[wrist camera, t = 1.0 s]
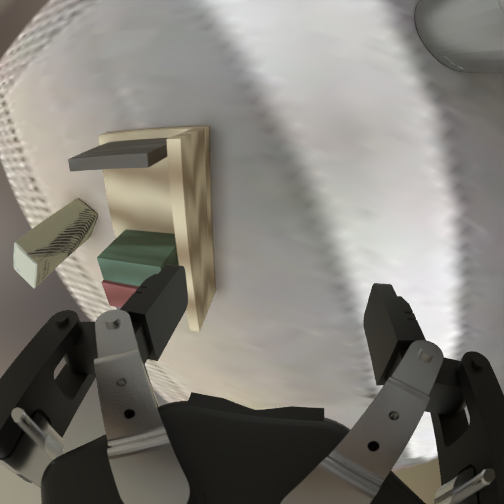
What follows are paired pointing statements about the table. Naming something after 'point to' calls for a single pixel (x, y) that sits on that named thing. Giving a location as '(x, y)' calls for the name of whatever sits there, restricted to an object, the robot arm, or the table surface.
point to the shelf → (156, 211)
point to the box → (52, 241)
